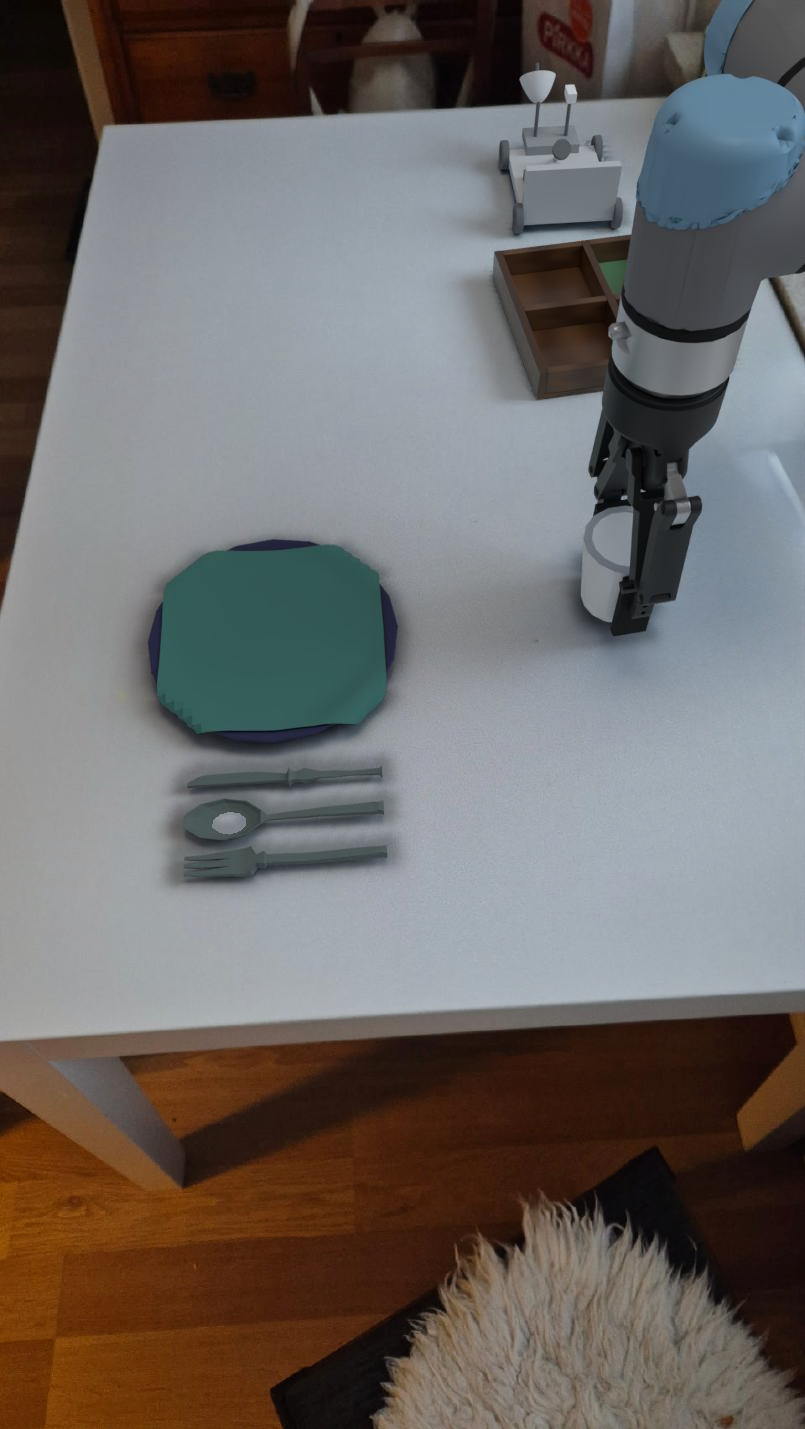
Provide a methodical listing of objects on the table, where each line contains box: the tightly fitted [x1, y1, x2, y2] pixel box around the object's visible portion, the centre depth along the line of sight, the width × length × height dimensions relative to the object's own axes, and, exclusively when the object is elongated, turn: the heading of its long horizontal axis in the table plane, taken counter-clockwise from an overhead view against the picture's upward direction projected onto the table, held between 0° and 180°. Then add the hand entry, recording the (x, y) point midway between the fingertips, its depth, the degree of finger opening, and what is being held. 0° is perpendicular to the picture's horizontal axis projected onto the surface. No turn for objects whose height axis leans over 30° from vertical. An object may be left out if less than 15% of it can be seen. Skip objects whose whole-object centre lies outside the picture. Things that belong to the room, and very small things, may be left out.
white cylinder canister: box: [580, 506, 633, 623], centre depth 79 cm, size 7×7×7 cm
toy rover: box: [498, 62, 624, 235], centre depth 111 cm, size 18×10×12 cm
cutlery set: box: [147, 538, 399, 878], centre depth 78 cm, size 20×30×2 cm, turn 4°
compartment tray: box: [492, 234, 631, 401], centre depth 101 cm, size 19×19×3 cm
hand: (614, 593), depth 82 cm, fingers closed on white cylinder canister, 7 cm apart
